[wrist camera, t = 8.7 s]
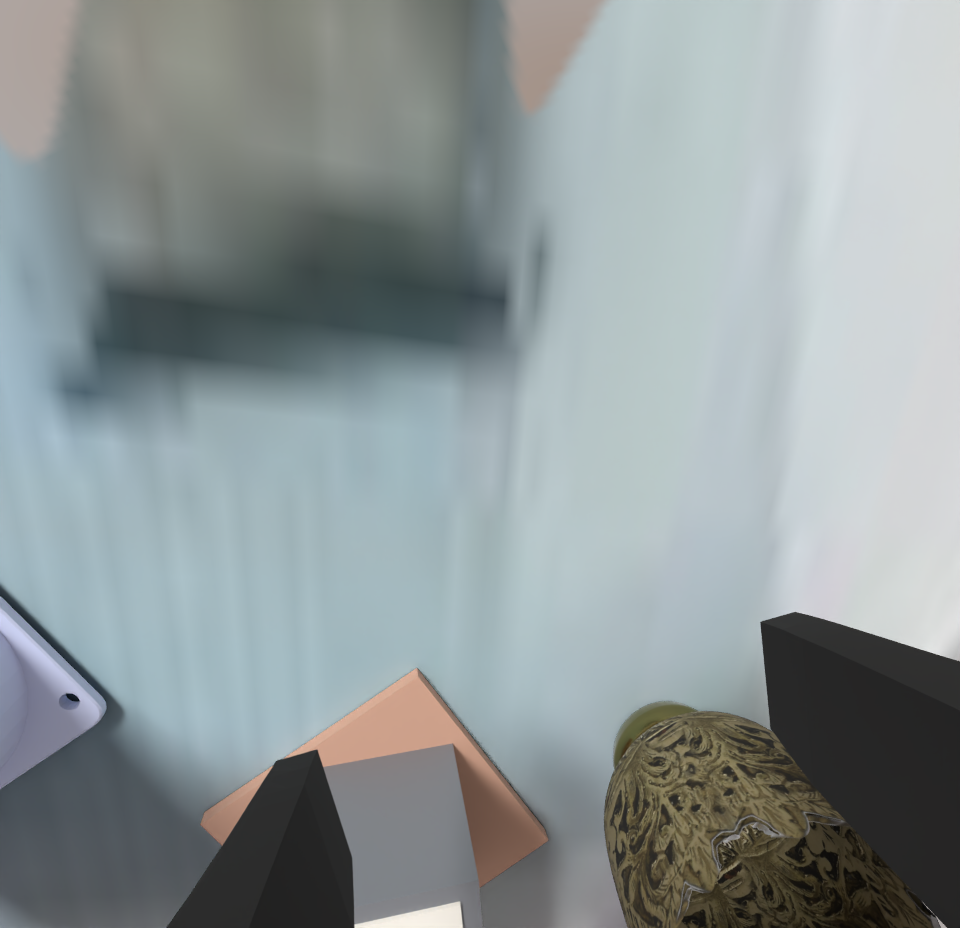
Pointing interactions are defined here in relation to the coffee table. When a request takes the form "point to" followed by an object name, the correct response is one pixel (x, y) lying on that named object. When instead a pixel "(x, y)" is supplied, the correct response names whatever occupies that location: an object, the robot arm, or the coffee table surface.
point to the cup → (736, 834)
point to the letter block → (408, 840)
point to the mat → (407, 727)
